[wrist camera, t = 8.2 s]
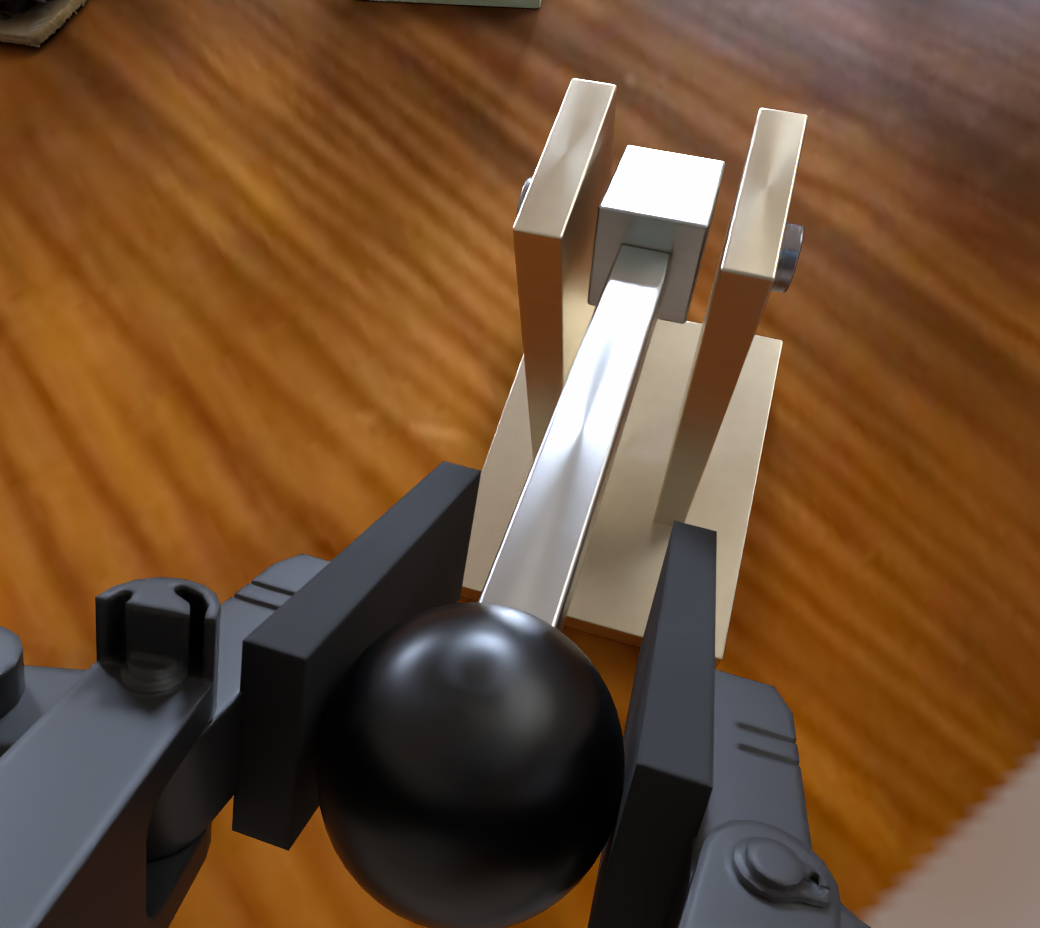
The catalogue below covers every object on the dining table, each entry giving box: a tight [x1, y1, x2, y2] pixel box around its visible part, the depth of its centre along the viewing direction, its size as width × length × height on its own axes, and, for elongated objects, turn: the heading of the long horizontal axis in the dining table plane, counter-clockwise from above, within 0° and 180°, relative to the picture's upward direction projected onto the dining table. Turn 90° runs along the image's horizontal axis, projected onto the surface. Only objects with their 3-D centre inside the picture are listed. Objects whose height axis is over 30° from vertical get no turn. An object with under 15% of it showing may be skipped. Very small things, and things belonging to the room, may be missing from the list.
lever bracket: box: [461, 78, 808, 668], centre depth 21 cm, size 12×9×14 cm
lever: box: [316, 146, 725, 928], centre depth 13 cm, size 15×4×4 cm, turn 164°
